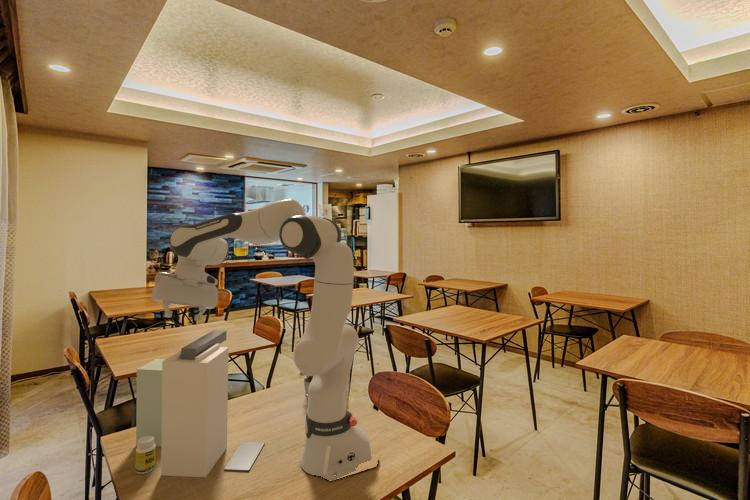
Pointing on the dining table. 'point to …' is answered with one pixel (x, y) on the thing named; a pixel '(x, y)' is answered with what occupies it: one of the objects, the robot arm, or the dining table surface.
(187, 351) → the bar
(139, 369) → the pale green block
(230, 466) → the plate
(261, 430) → the dining table surface
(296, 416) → the dining table surface
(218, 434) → the outlet wall
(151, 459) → the supplement bottle
